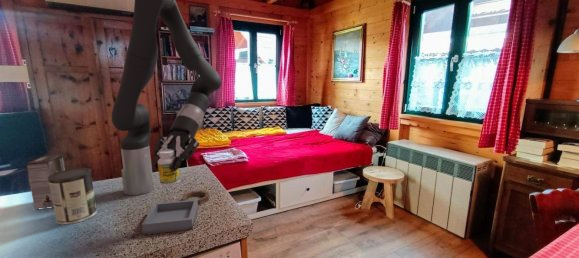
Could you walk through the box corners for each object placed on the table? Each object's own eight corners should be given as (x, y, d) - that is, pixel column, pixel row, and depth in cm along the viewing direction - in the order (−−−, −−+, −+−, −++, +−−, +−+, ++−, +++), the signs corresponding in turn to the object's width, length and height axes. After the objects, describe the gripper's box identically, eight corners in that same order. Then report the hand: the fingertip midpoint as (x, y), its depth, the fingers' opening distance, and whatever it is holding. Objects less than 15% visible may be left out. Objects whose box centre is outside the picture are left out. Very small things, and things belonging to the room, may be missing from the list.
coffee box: (50, 198, 96) (42, 155, 93) (71, 196, 97) (64, 154, 94) (34, 210, 87) (24, 163, 84) (57, 207, 89) (49, 161, 86)
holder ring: (180, 206, 89) (180, 202, 89) (185, 195, 97) (184, 191, 97) (207, 203, 91) (207, 199, 91) (209, 193, 99) (209, 189, 99)
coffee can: (82, 206, 90) (76, 166, 87) (105, 211, 86) (99, 169, 84) (47, 221, 80) (38, 177, 78) (70, 227, 77) (62, 181, 74)
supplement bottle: (177, 177, 82) (175, 147, 80) (181, 183, 78) (178, 151, 76) (158, 181, 79) (155, 150, 78) (161, 187, 75) (157, 154, 73)
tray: (142, 234, 73) (141, 224, 73) (155, 211, 86) (155, 203, 85) (192, 229, 76) (191, 219, 75) (198, 207, 88) (197, 199, 88)
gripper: (163, 113, 84) (135, 161, 75) (201, 115, 80) (176, 165, 71) (176, 127, 90) (152, 172, 81) (212, 129, 86) (191, 177, 77)
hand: (163, 169), depth 76 cm, fingers closed on supplement bottle, 5 cm apart
